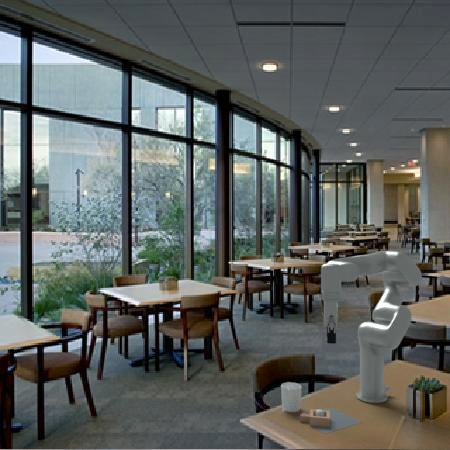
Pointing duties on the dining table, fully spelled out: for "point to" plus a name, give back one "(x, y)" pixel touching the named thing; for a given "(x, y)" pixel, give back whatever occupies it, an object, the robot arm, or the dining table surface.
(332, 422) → the board
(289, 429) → the dining table surface
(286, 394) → the white cup
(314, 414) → the square frame with tab
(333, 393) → the dining table surface
